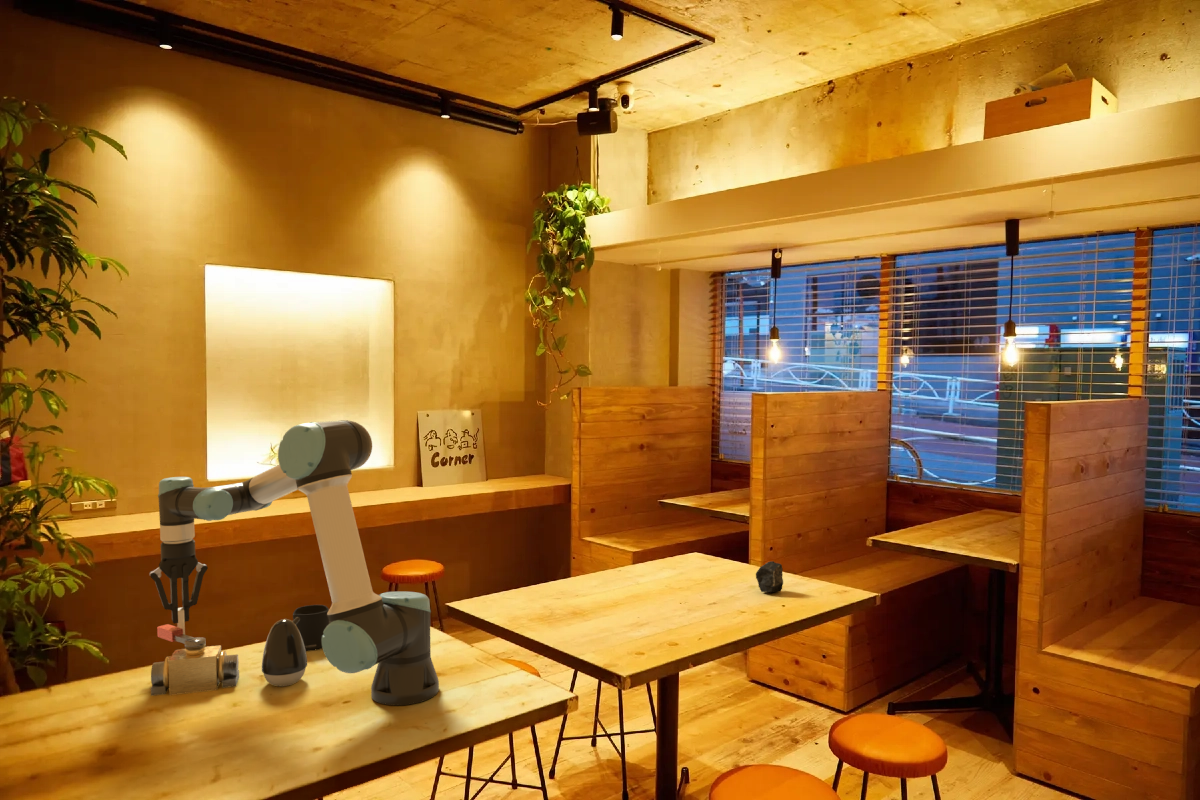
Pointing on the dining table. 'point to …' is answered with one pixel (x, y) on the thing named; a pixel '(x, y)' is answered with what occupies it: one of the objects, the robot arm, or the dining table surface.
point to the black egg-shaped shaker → (284, 654)
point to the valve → (194, 671)
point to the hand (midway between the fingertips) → (181, 635)
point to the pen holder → (312, 625)
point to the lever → (180, 637)
